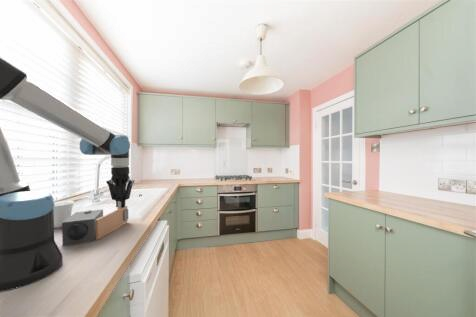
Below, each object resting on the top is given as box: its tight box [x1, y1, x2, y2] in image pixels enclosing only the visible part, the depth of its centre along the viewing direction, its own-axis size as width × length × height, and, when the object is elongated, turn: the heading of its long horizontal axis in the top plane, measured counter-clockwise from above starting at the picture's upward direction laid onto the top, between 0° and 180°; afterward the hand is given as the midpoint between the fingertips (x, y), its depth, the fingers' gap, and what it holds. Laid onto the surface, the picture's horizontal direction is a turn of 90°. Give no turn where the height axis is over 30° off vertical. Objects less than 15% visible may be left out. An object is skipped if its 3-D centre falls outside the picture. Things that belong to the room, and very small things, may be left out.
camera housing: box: [61, 209, 104, 247], centre depth 79 cm, size 16×10×10 cm, turn 24°
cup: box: [54, 200, 75, 229], centre depth 92 cm, size 10×10×11 cm
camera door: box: [95, 205, 129, 240], centre depth 85 cm, size 20×2×8 cm, turn 0°
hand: (120, 213), depth 93 cm, fingers closed
